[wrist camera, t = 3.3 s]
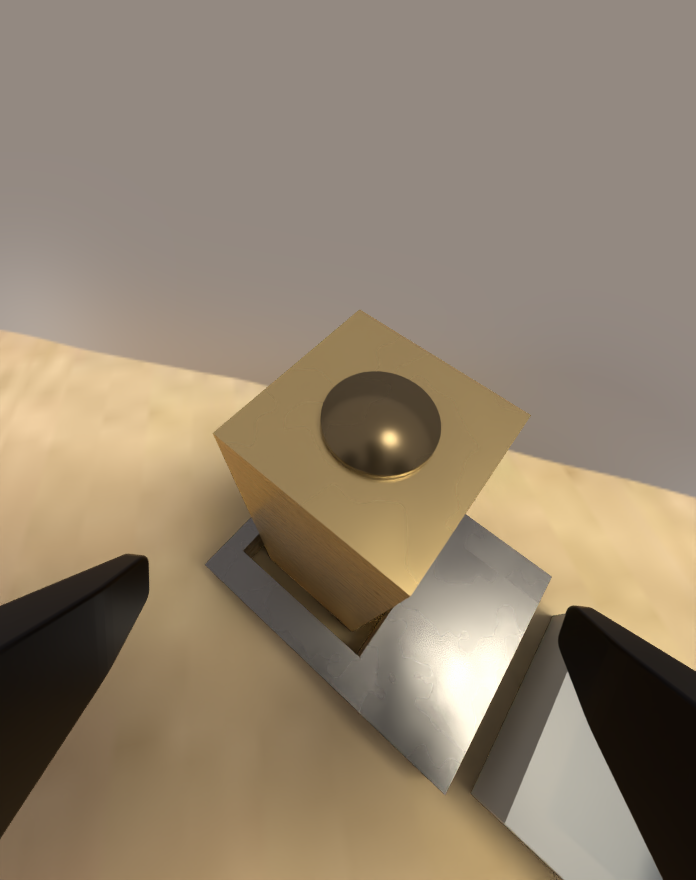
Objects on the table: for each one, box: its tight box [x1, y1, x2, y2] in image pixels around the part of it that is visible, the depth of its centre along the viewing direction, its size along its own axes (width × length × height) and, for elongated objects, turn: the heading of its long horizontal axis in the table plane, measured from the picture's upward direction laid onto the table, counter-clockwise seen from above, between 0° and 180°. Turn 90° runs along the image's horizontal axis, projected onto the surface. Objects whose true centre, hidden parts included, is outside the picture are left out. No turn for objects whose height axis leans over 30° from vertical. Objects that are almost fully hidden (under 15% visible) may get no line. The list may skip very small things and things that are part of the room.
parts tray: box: [471, 614, 663, 880], centre depth 14 cm, size 8×8×3 cm
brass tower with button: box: [213, 310, 531, 632], centre depth 13 cm, size 5×5×12 cm
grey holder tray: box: [205, 514, 551, 795], centre depth 17 cm, size 12×9×2 cm
